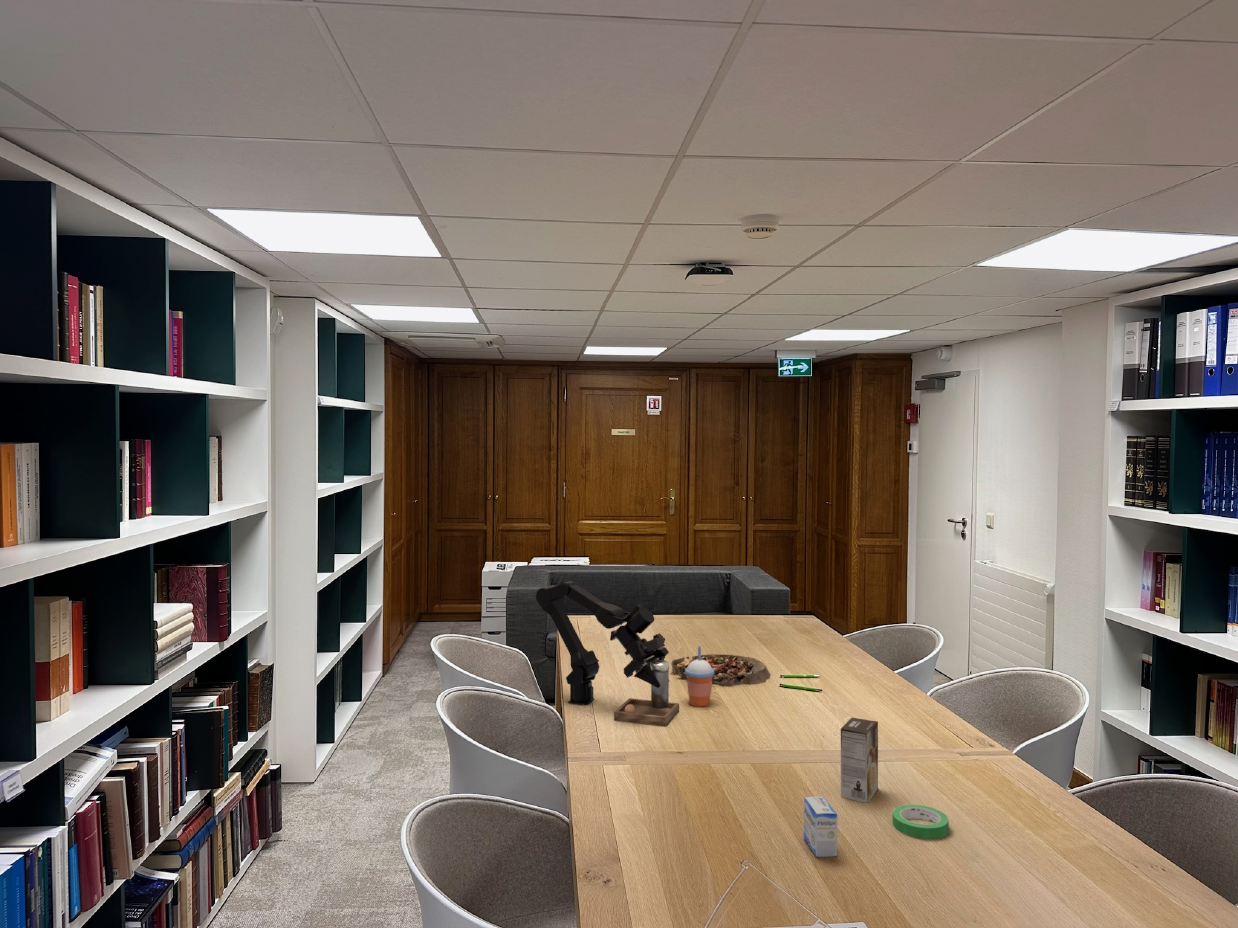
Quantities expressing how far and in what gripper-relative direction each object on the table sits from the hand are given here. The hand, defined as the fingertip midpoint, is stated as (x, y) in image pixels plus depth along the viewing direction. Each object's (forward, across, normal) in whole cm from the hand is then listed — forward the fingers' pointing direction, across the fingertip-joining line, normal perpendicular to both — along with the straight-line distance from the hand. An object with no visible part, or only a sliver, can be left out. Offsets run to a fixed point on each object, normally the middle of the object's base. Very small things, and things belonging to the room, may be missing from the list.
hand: (663, 684), depth 240 cm
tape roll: (+63, -33, -49) cm, 87 cm away
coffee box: (+52, -23, -39) cm, 69 cm away
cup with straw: (+10, +17, +5) cm, 20 cm away
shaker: (+4, 0, +6) cm, 7 cm away
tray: (+4, -1, +10) cm, 11 cm away
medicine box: (+52, -52, -39) cm, 84 cm away
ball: (0, -6, +11) cm, 12 cm away
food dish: (+4, +51, +11) cm, 53 cm away
